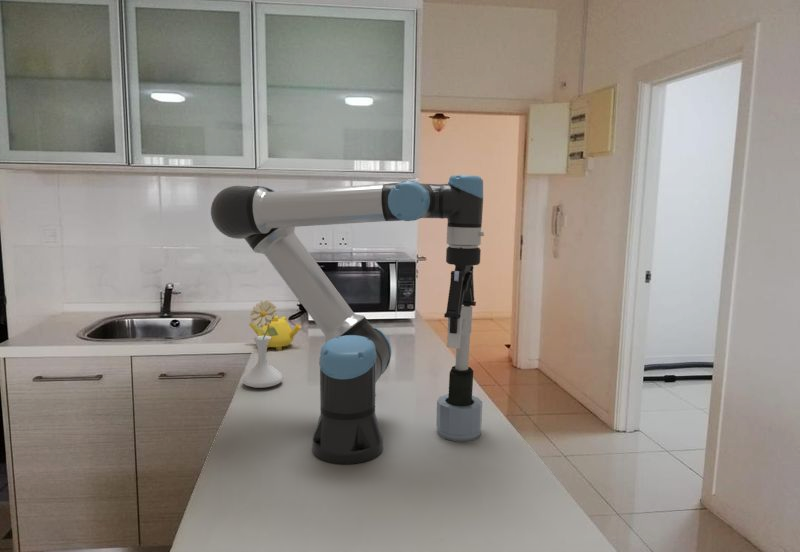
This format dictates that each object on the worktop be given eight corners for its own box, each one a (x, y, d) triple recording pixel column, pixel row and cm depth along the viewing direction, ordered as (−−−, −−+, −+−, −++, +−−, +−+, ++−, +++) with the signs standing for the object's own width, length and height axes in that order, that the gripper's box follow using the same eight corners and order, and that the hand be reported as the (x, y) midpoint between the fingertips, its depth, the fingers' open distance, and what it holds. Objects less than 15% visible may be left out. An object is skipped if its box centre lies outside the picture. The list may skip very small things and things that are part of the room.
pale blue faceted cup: (476, 444, 124) (477, 411, 123) (432, 437, 127) (433, 406, 126) (483, 426, 133) (484, 396, 132) (442, 421, 136) (443, 391, 135)
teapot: (237, 351, 195) (236, 319, 194) (261, 338, 212) (261, 309, 211) (290, 355, 191) (290, 323, 189) (311, 342, 208) (311, 313, 206)
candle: (468, 430, 127) (474, 322, 123) (446, 427, 128) (451, 320, 124) (471, 421, 132) (476, 317, 128) (449, 418, 133) (454, 315, 129)
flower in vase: (234, 384, 161) (232, 298, 157) (269, 375, 169) (268, 293, 165) (258, 395, 152) (256, 304, 148) (294, 386, 160) (293, 299, 156)
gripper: (470, 252, 111) (466, 356, 114) (488, 243, 135) (484, 329, 138) (433, 250, 113) (430, 352, 116) (458, 241, 137) (454, 326, 140)
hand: (459, 340), depth 127 cm, fingers open, 13 cm apart
